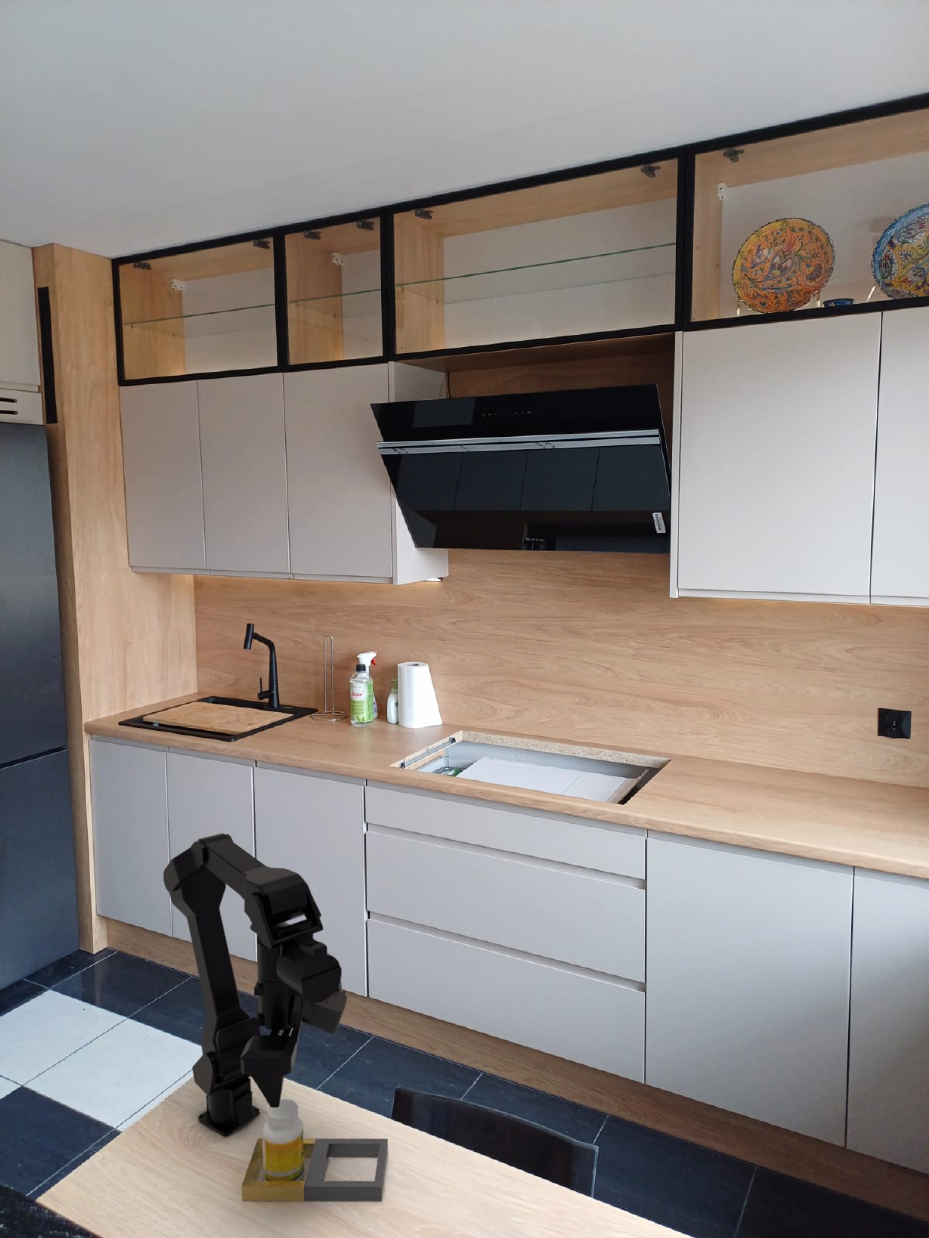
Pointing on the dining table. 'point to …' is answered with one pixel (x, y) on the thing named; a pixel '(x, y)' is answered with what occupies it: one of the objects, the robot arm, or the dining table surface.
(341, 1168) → the dining table surface
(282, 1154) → the supplement bottle
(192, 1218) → the dining table surface
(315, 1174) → the rectangular frame
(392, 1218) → the dining table surface
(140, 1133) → the dining table surface
